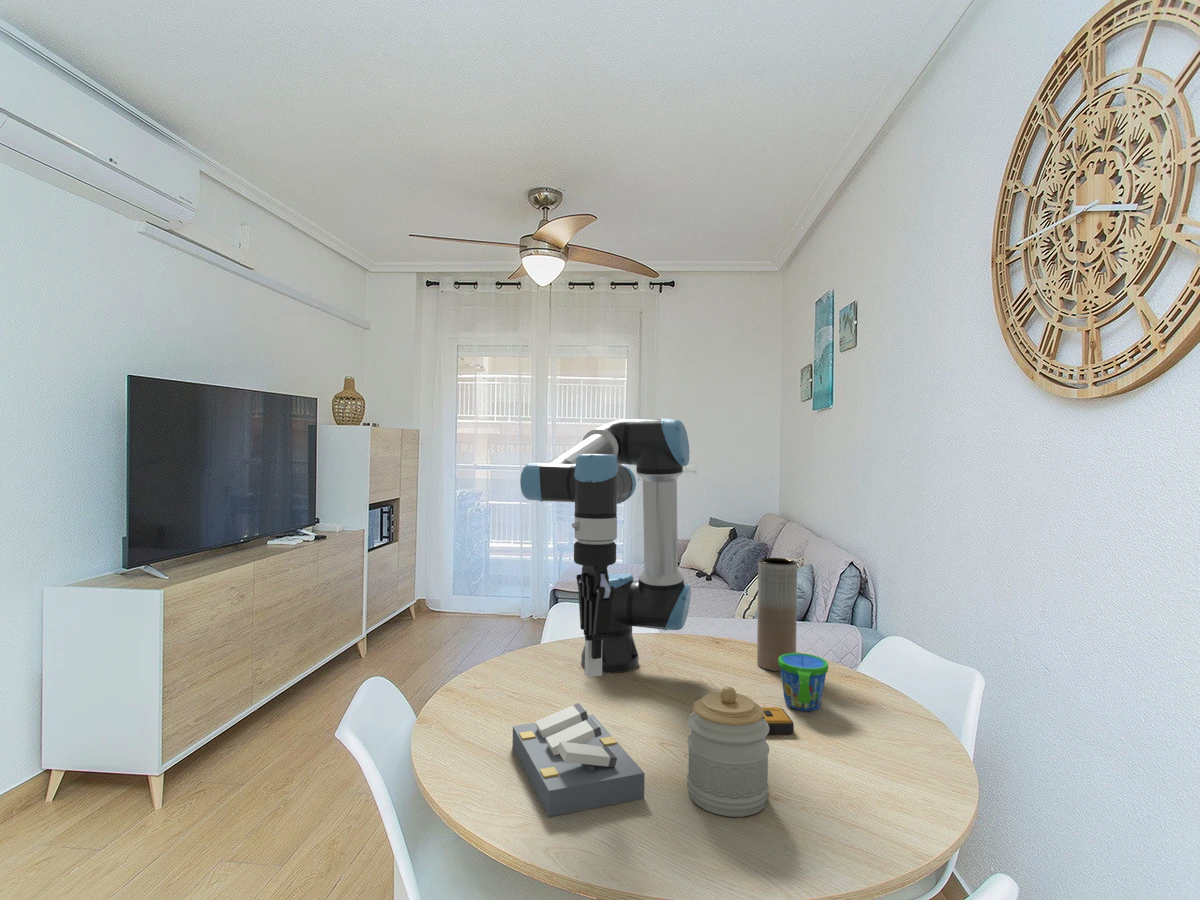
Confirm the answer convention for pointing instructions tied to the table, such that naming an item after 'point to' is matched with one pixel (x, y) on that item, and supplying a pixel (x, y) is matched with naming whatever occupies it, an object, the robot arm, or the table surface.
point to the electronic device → (778, 721)
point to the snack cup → (802, 680)
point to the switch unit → (576, 774)
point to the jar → (728, 754)
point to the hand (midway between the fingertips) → (593, 674)
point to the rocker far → (561, 720)
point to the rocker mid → (574, 734)
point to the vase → (776, 611)
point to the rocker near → (587, 754)
